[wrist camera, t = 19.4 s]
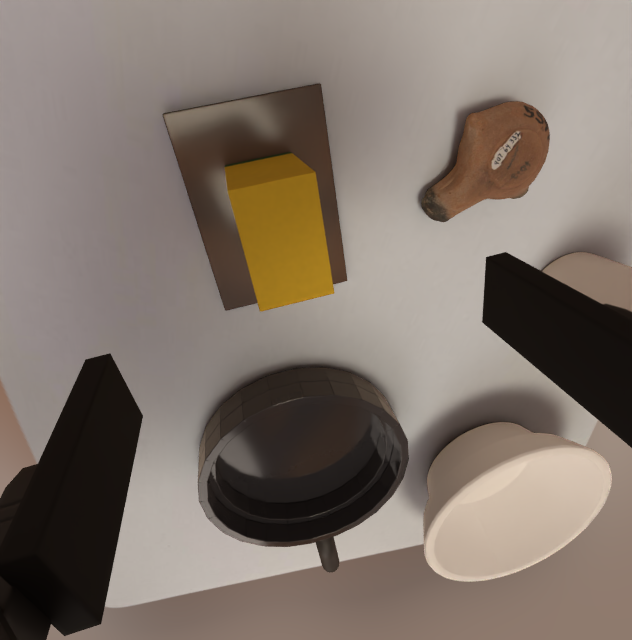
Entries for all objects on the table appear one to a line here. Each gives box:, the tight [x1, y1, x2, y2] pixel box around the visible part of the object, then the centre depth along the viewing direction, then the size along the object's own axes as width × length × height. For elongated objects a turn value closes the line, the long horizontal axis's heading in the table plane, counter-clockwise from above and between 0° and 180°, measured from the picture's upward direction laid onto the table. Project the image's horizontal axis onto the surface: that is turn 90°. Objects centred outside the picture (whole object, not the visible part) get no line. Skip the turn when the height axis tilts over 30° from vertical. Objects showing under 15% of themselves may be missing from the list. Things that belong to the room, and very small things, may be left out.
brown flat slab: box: [163, 84, 347, 310], centre depth 29 cm, size 14×10×1 cm
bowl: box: [423, 422, 612, 582], centre depth 46 cm, size 21×21×8 cm
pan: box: [198, 367, 409, 547], centre depth 40 cm, size 20×20×4 cm
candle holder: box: [542, 252, 632, 312], centre depth 34 cm, size 10×10×12 cm
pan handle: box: [316, 537, 339, 572], centre depth 45 cm, size 8×2×2 cm, turn 9°
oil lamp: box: [421, 101, 550, 222], centre depth 30 cm, size 9×4×8 cm
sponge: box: [224, 152, 334, 311], centre depth 26 cm, size 7×4×8 cm, turn 9°
